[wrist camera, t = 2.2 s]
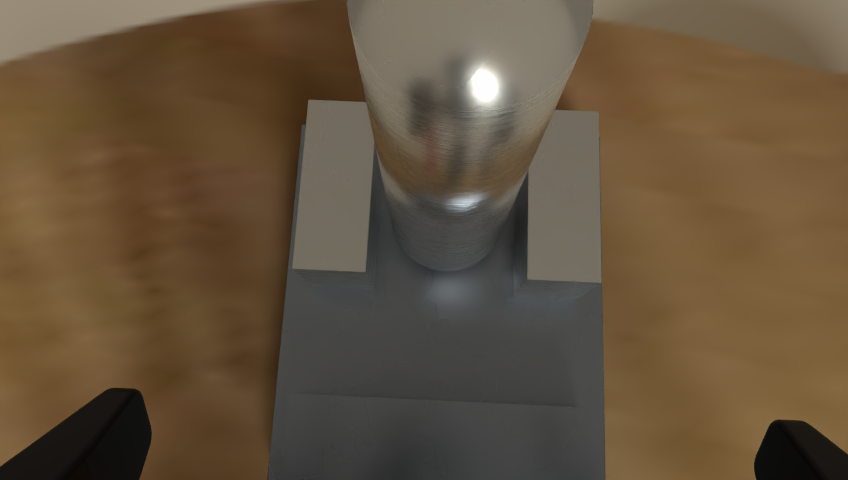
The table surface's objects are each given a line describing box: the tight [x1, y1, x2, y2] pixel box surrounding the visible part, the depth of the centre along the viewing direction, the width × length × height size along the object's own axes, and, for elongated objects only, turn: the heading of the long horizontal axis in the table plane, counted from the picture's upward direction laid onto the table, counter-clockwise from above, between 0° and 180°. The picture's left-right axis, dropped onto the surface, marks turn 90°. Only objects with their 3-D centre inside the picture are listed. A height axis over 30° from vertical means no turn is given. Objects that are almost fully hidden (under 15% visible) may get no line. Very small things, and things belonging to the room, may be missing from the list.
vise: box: [267, 100, 605, 480], centre depth 20 cm, size 12×10×5 cm
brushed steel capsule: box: [347, 0, 593, 271], centre depth 16 cm, size 6×4×12 cm, turn 177°
